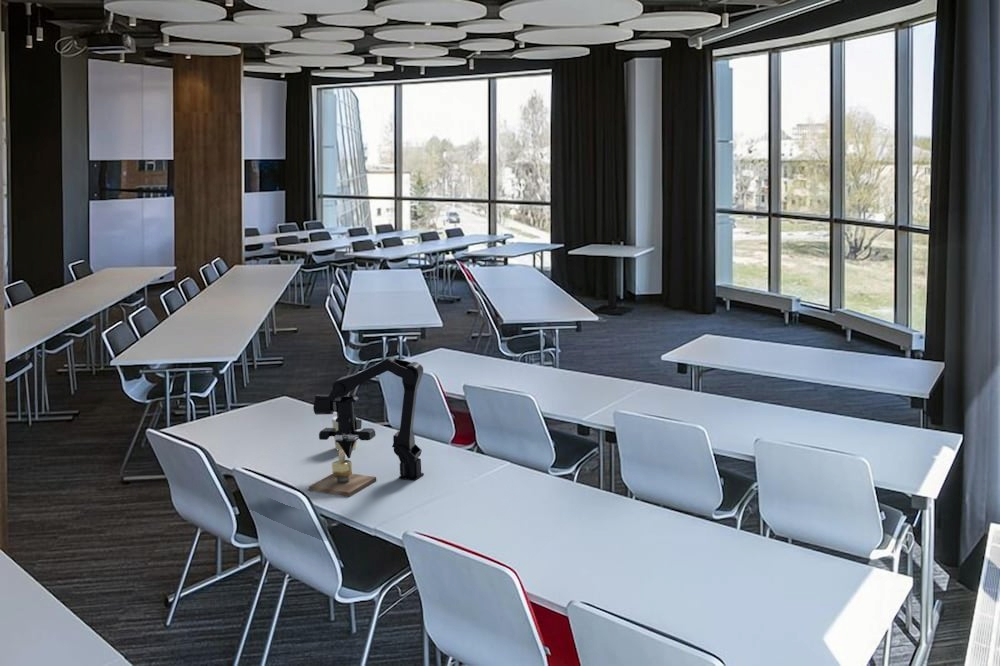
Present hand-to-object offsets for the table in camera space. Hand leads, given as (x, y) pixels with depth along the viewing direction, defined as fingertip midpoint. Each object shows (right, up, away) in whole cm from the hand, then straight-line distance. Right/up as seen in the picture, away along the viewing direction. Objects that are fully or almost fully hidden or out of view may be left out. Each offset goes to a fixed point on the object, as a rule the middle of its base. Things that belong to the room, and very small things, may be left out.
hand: (349, 458), depth 316 cm
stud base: (0, -8, -10) cm, 13 cm away
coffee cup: (-6, -1, +32) cm, 33 cm away
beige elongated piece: (-2, -3, -5) cm, 6 cm away
